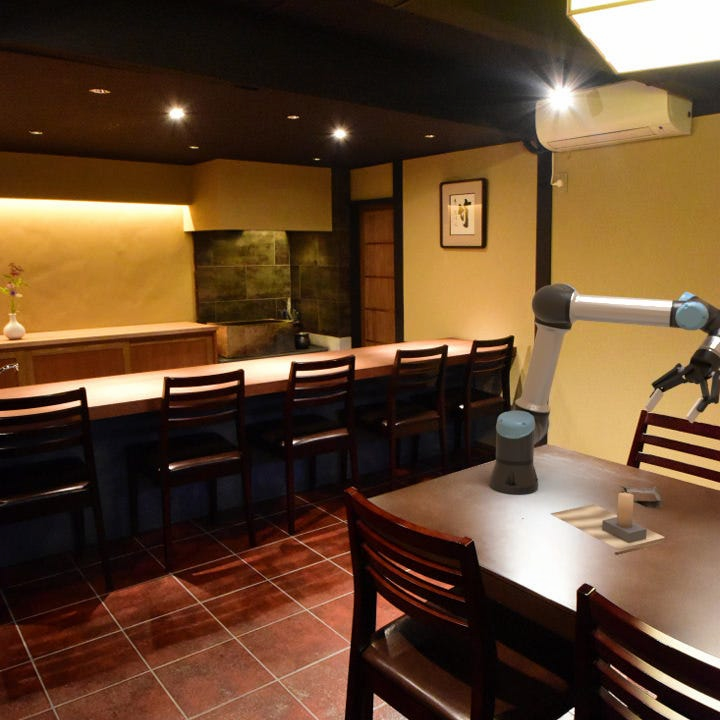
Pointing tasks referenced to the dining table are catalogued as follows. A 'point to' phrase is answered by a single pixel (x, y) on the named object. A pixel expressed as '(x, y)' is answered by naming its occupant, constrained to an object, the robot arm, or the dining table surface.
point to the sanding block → (624, 521)
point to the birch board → (592, 524)
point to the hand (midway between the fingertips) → (667, 414)
